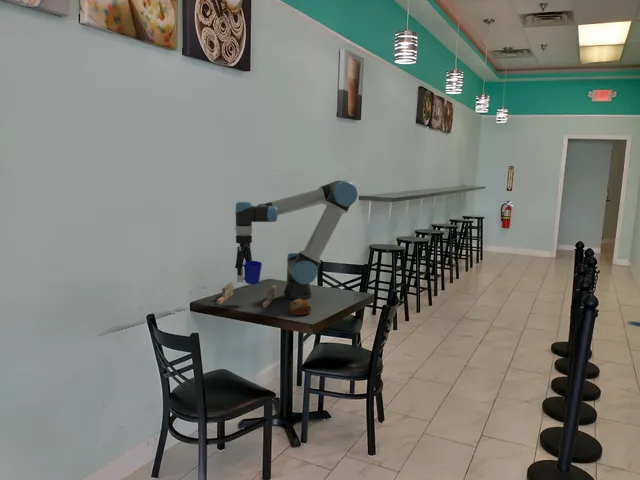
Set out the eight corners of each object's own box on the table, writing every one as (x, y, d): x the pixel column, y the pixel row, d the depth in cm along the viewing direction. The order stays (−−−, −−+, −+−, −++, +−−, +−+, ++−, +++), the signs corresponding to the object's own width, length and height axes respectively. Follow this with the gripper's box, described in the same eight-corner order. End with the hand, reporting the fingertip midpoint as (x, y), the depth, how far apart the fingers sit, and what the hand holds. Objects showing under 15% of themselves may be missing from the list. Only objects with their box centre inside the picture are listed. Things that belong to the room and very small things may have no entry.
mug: (233, 280, 251) (234, 261, 248) (257, 279, 256) (258, 260, 254) (238, 286, 244) (240, 266, 241) (262, 285, 249) (264, 265, 247)
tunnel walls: (275, 297, 266) (276, 285, 265) (269, 303, 252) (270, 291, 251) (230, 293, 269) (230, 282, 268) (222, 300, 255) (222, 288, 254)
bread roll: (297, 317, 241) (290, 301, 242) (316, 308, 238) (308, 292, 239) (290, 322, 232) (282, 306, 232) (309, 313, 229) (301, 297, 229)
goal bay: (269, 304, 251) (269, 300, 251) (265, 307, 244) (266, 303, 244) (221, 300, 254) (221, 296, 254) (216, 304, 247) (216, 299, 247)
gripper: (243, 231, 256) (243, 273, 259) (228, 237, 232) (228, 284, 235) (258, 231, 255) (258, 274, 258) (244, 238, 231) (244, 284, 234)
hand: (244, 279), depth 246 cm, fingers open, 13 cm apart
